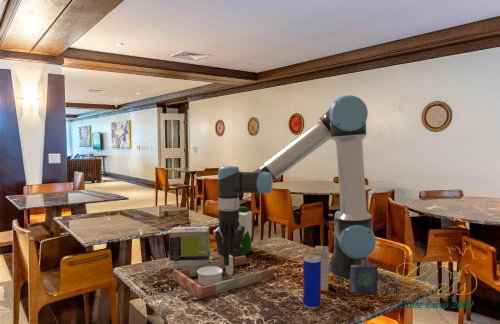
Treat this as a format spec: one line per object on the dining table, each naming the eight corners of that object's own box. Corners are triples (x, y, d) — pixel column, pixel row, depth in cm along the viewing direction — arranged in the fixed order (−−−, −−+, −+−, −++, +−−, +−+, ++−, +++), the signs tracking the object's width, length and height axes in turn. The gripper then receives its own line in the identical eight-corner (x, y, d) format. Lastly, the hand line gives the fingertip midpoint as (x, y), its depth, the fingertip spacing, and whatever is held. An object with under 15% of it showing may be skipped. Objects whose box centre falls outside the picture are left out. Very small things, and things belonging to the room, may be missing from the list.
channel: (274, 276, 132) (274, 267, 132) (198, 298, 114) (198, 287, 114) (244, 262, 148) (244, 253, 147) (173, 279, 129) (173, 269, 129)
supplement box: (328, 292, 119) (329, 253, 118) (313, 291, 120) (314, 252, 119) (328, 282, 127) (328, 245, 126) (314, 281, 128) (314, 245, 127)
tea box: (210, 260, 150) (210, 225, 149) (208, 269, 140) (208, 231, 139) (173, 261, 150) (173, 225, 149) (169, 269, 140) (168, 231, 139)
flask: (351, 294, 117) (351, 261, 117) (347, 290, 120) (348, 258, 120) (378, 293, 118) (379, 260, 118) (374, 289, 121) (375, 258, 121)
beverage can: (307, 300, 113) (308, 252, 112) (323, 304, 110) (323, 255, 109) (300, 306, 108) (300, 257, 108) (316, 311, 105) (316, 260, 105)
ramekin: (198, 277, 131) (198, 266, 131) (223, 277, 132) (223, 265, 131) (196, 287, 123) (195, 275, 122) (222, 287, 123) (222, 274, 123)
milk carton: (253, 250, 164) (253, 206, 163) (245, 256, 156) (245, 210, 155) (236, 248, 168) (236, 205, 167) (227, 253, 159) (227, 208, 158)
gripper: (237, 205, 137) (238, 266, 138) (207, 209, 129) (208, 274, 131) (249, 208, 131) (249, 272, 132) (218, 212, 123) (219, 280, 125)
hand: (229, 273), depth 131 cm, fingers closed
